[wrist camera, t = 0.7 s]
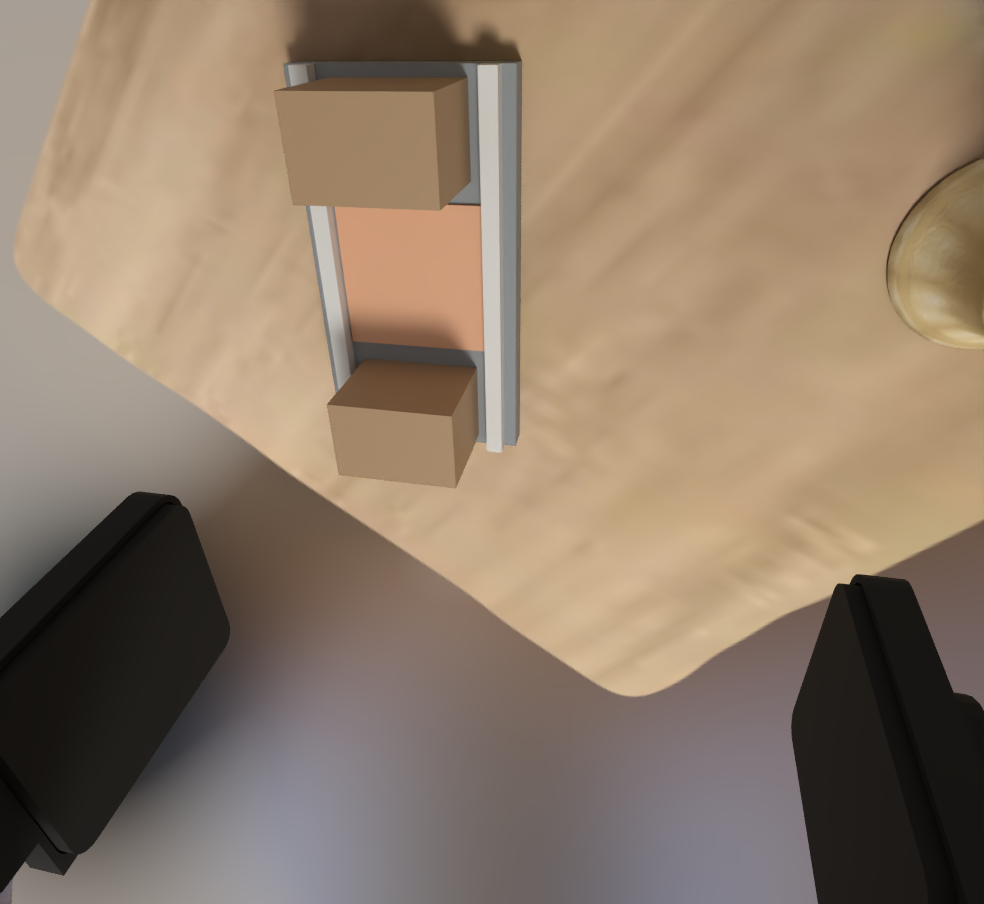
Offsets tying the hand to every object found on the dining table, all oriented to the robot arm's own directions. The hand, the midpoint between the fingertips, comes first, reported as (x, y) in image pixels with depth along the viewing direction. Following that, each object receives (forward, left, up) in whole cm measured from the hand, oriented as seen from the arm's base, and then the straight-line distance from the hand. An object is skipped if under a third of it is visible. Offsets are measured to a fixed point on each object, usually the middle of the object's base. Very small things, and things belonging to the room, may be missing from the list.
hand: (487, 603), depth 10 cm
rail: (+4, -9, -25) cm, 27 cm away
